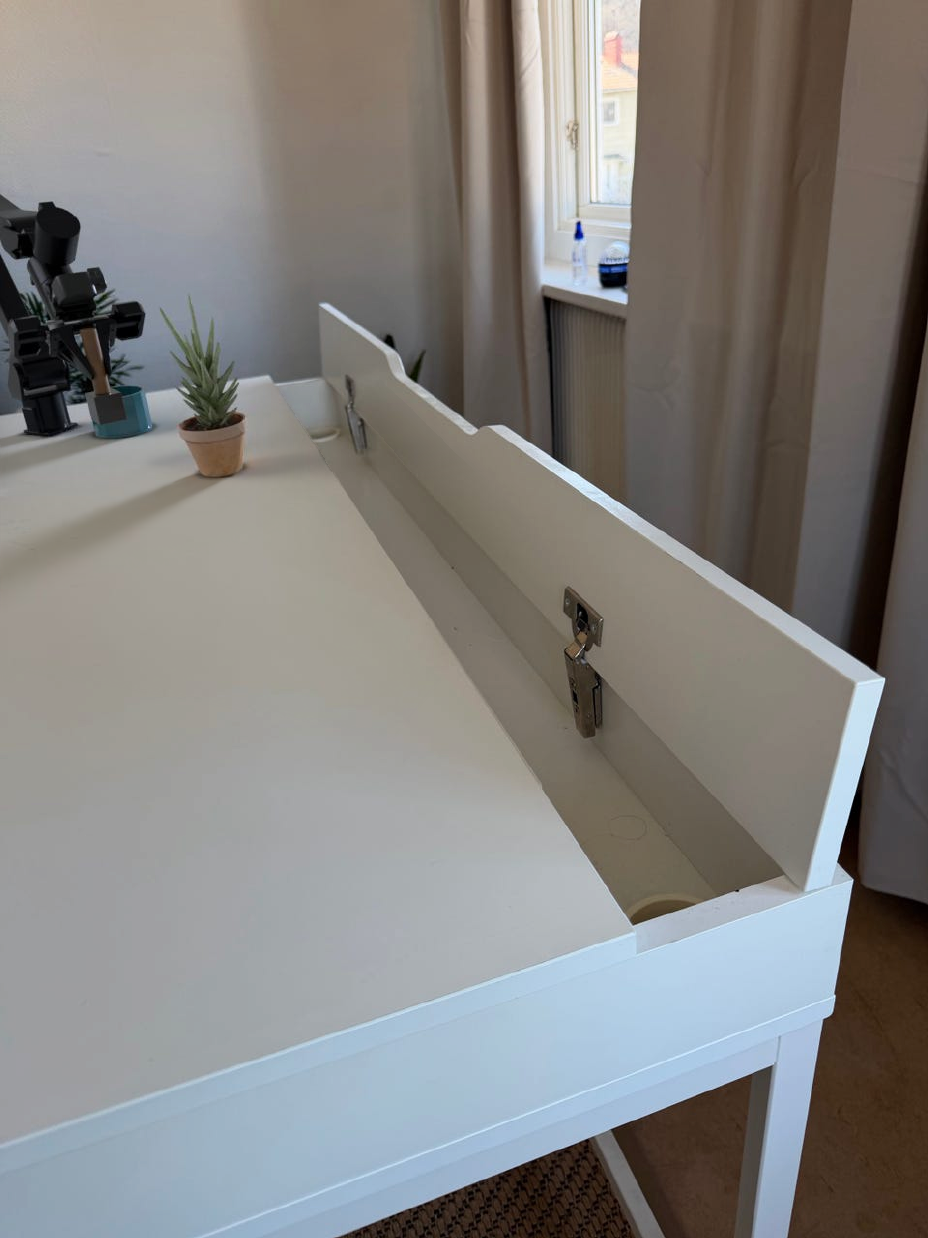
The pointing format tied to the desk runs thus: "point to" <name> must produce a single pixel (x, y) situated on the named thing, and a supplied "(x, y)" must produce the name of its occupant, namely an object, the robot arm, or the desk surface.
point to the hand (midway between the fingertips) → (101, 376)
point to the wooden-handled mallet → (101, 384)
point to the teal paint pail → (128, 415)
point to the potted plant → (209, 406)
